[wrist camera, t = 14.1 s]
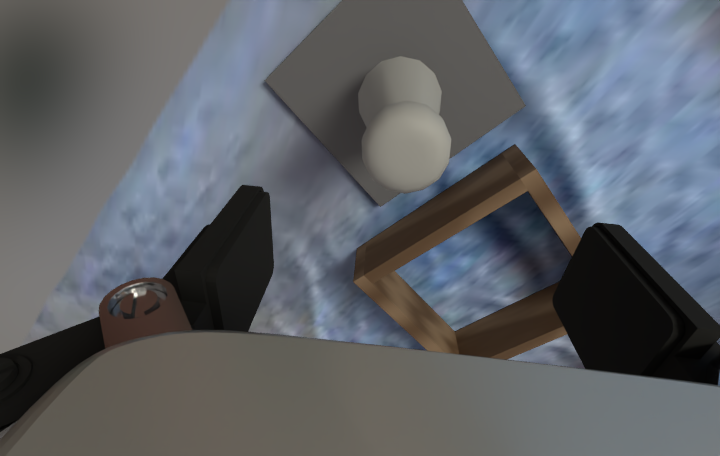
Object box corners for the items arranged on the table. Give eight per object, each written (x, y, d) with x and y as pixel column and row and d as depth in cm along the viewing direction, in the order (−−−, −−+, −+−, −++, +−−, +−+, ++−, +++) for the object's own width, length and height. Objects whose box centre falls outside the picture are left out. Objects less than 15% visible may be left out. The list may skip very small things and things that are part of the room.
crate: (598, 272, 36) (626, 309, 32) (451, 341, 43) (458, 379, 39) (515, 144, 30) (536, 168, 26) (356, 248, 36) (353, 281, 32)
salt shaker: (413, 143, 30) (429, 230, 19) (348, 113, 29) (325, 187, 18) (452, 72, 27) (498, 128, 16) (380, 36, 26) (376, 68, 15)
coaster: (523, 103, 28) (525, 105, 28) (380, 203, 34) (380, 206, 33) (415, -74, 23) (416, -76, 22) (266, 78, 28) (264, 80, 28)
